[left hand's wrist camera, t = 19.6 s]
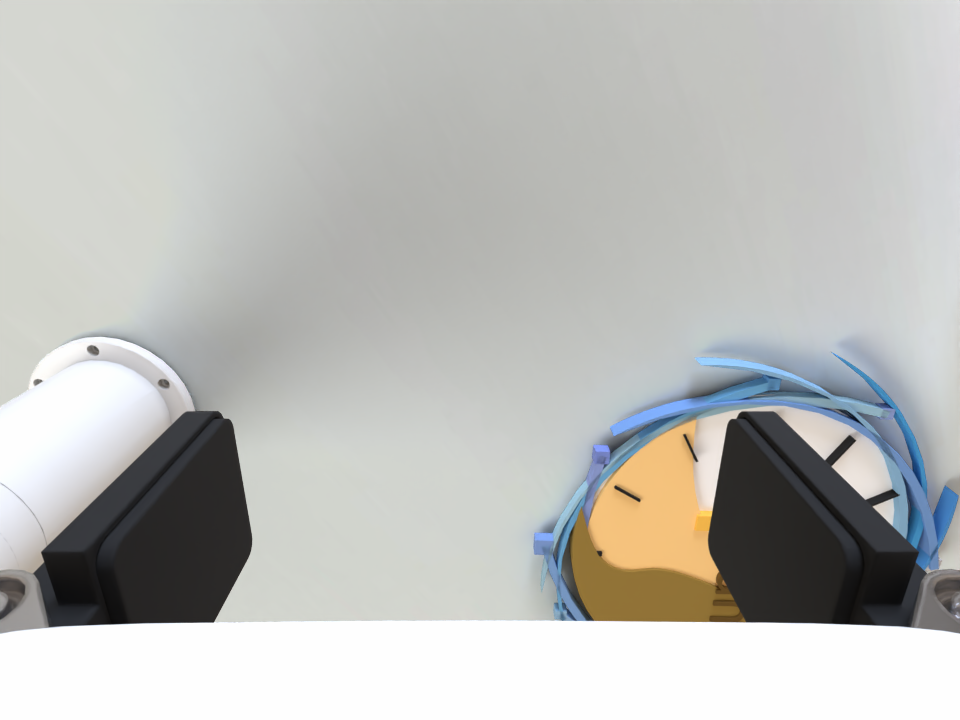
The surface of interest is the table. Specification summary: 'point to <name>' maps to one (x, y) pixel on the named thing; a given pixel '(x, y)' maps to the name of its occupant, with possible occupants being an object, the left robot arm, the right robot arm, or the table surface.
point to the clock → (691, 491)
